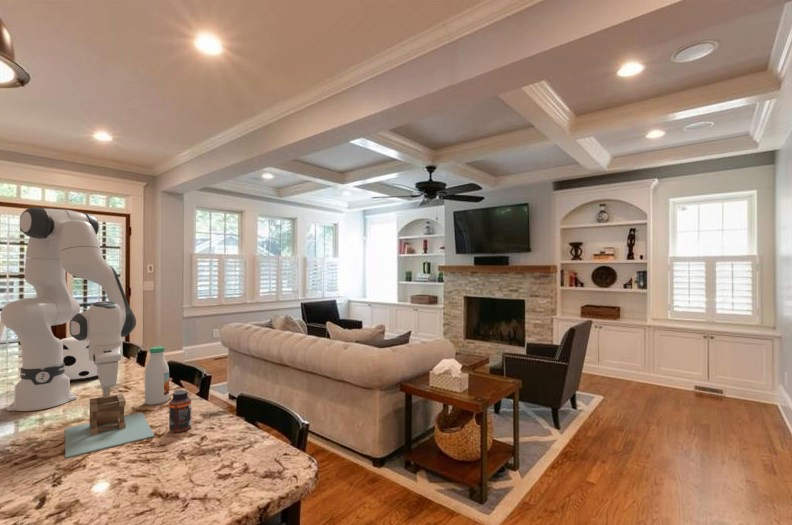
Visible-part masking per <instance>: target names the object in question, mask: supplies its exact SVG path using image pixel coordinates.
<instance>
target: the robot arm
mask: <svg viewBox="0 0 792 525" xmlns="http://www.w3.org/2000/svg"><path fill="white" fill-rule="evenodd" d="M19 229H20V231H21V232H22V233H23V234H24V235H25V236H26V237H28V238H29V239H28V241H27V245H26V250H25V262H24V263H25V264H24V265H25V266H24V280H25V282H26V283H28V284H29V285H31V286H32V287H33V288H34V291H35V292H36V297H28V298H27V297H26V298H21V299H18V300H14V301H11V302H9V303H6V304H5V305H4V306H3V308H1V311H0V320H1V323H2V325H3V326H4V327H6V328H8V329H9V330H11V331H12V332H13V333H14V334H15V335H16V337H17V339H18V341H19V343H20V347H21V361H22V366H21V368H20V381H19V382H17V383H16V384H15V385H14V388H13V389H14V397H13V399H14V400H13V402H12V403H11V404H10V405H9V406H7V407H6V411H8V412H10V411H12V412H13V411H18V412H30V411H32V412H33V411H39V410H44V409H49V408H54V407H57V406H61V405H63V404H66V403H68V402H70V401H75V400H76V399H77V395H76V394H74V393H73V392H72V391H71V383H70V382H71V381H70V378H69V377H68V376H66V375H65V374H64V372H65V363H64V362H63V342H62V341H61V339H60V338H58V337H56V336H55V335H54V333H53V331H52V326H59V325H63V324H66V323H68V322H69V335H70V337H74V338H75V339H77V340H79V341H89V340H90V342H89V360H92V361H93V362H94V365H97V375H98V377H97V378H98V380H99V384H100V386H101V389H102V390H101V392H102V397H105V396H111V387H112V388H113V387H115V386H116V385H117V382H118V373H119V362H120V361H121V359H122V357H123V354H124V353H123V352H124V351H123V349H124V348H123V338H125V337H127V336H128V335H129V334H131V333H132V332H133V331H134V329H135V328H136V326H137V318H136V316H135V314H134V312H133V310H132V309H131V306H130V305H129V302H128V300H127V296H126V293H125V291H124V288H123V286H122V283H121V281H120V279H119V276H118V273H117V271H116V269H115V268H114V267H113V265H110V264H108V263H107V260H105V259H104V257H103V255H102V253H101V248H100V243H99V239H98V233H99V230H100V225H99V221H98V219H97V218H96V216H94V215H92V214H89V213H87V212H80V211H74V210H70V209H63V208H62V209H58V208H43V207H30V208H26V209H25V210H24V211H22V213H21V214H20V218H19ZM66 273H68V274H69V275H71V276H73V277H75V278H78V279H83V280H87V281H90V282H93V283H95V284H96V285H99V286H100V287H101V288H102V289H103V291H104V292H105V295H106V298H107V299H108V301H97V302H94V303H92V304H91V305H90V306H89V308H88V309H86V310H85V311H82V312H81V306H80V303H79V301H78V300H77V299H76V298H75V297H74V296H73V295H72V294H71V293H70V290H69V288H68V284H67V280H66V276H67V275H66Z"/></svg>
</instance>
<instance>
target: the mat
mask: <svg viewBox="0 0 792 525" xmlns="http://www.w3.org/2000/svg"><path fill="white" fill-rule="evenodd" d="M124 420H125V422H126V428H123V429H119V428H115V429H111V430H106V431H102V432H98V434H96V435H92V436H91V432H90V422H88V423H84V424H79V425H73V426H69V427H65V429H64V438H65V439H64V445H65V447H64V448H65V449H64V450H65V454H64V456H65V459H69V458H73V457H77V456H81V455H86V454H89V453H90V454H91V453H94V452H98V451H101V450H105V449H110V448H114V447H119V446H121V445H126V444H130V443H135V442H138V441H144V440H146V439H150V438H151V439H152V438H154V437H156V436H155V433H154V431H153V430H152V428H151V426H150V424H149V423H148V421H147V419H146V417H145V415H144V413H143V412H136V413H133V414H127V415H124ZM113 424H117V422H116V423H111V424H106V425H102V426H97V427H98V428H99V427H104V426H109V425H113Z"/></svg>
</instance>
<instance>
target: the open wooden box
mask: <svg viewBox="0 0 792 525" xmlns="http://www.w3.org/2000/svg"><path fill="white" fill-rule="evenodd" d="M126 401H127V400H126V398H125V396H124V394H123V393H116V394H112V395H111V394H110V395H109V396H105V397H104V396H99V397H95V398H89V423H90V432H91V436H92V435H96V434H98V432H102V431H106V430H111V429H115V428H119V429H123V428H126V422H125V420H124V416H125V406H126V405H127V404H126ZM116 422H117V424H113V425H109V426H104V427H99V428H98V427H97V426H102V425H106V424H111V423H116Z"/></svg>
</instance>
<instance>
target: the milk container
mask: <svg viewBox="0 0 792 525" xmlns="http://www.w3.org/2000/svg"><path fill="white" fill-rule="evenodd" d="M60 340H61V341H62V342H63V362H64V363H65V372H64V374H65V375H66V376H68V377H69V378H70V382H79V381H86V380H90V379H93V378H98V375H97V365H94V362H93V361H92V360H89V342H90V340H89V341H79V340H77V339H75V338H74V337H72V336H70V337H66V338H64V337H63V338H62V339H60Z"/></svg>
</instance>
